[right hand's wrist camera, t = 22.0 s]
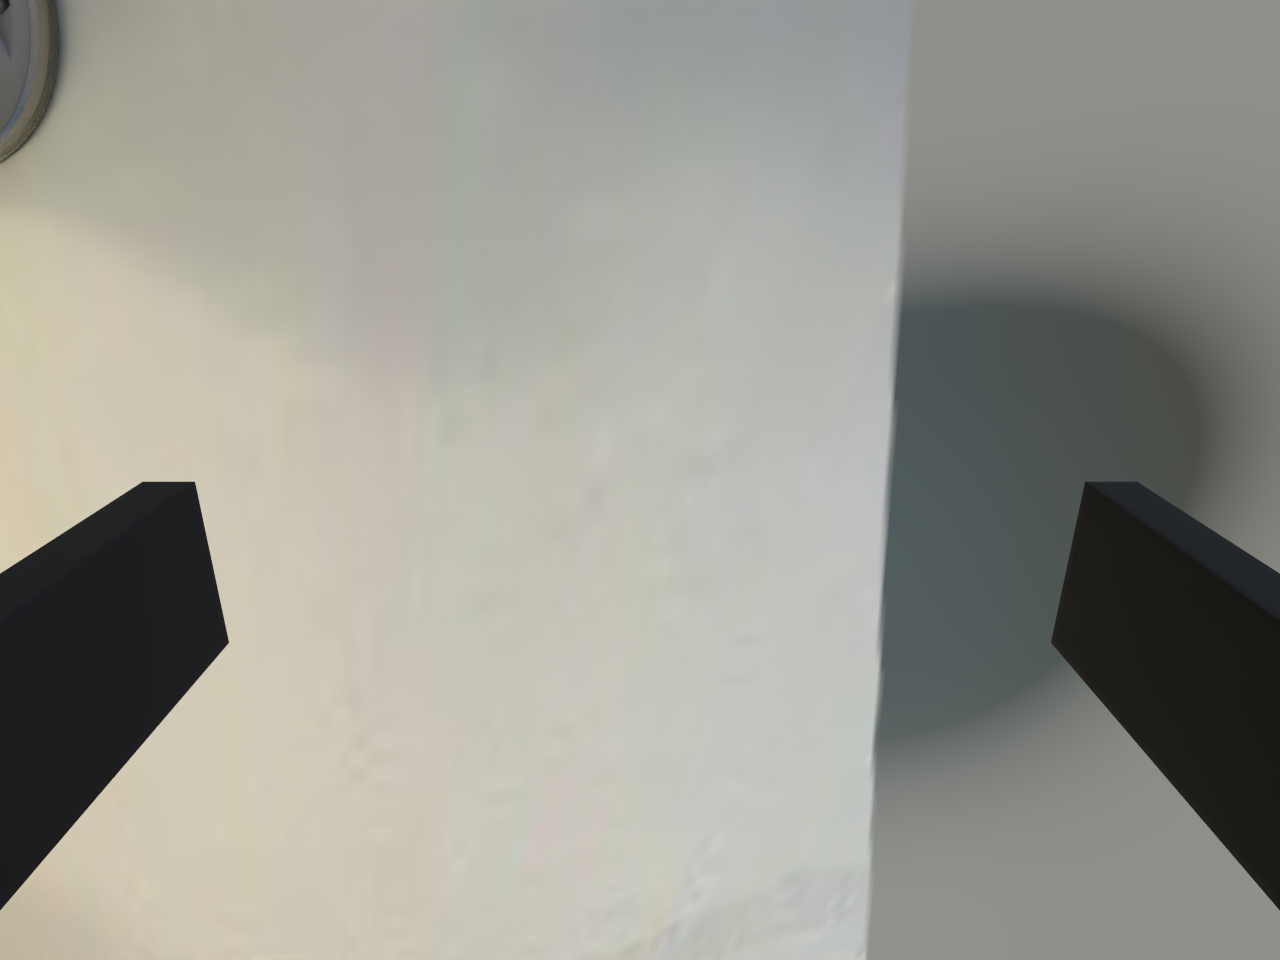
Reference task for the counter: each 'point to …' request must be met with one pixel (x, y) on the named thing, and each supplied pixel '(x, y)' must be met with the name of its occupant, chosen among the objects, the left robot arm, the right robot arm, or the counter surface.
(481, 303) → the counter surface
